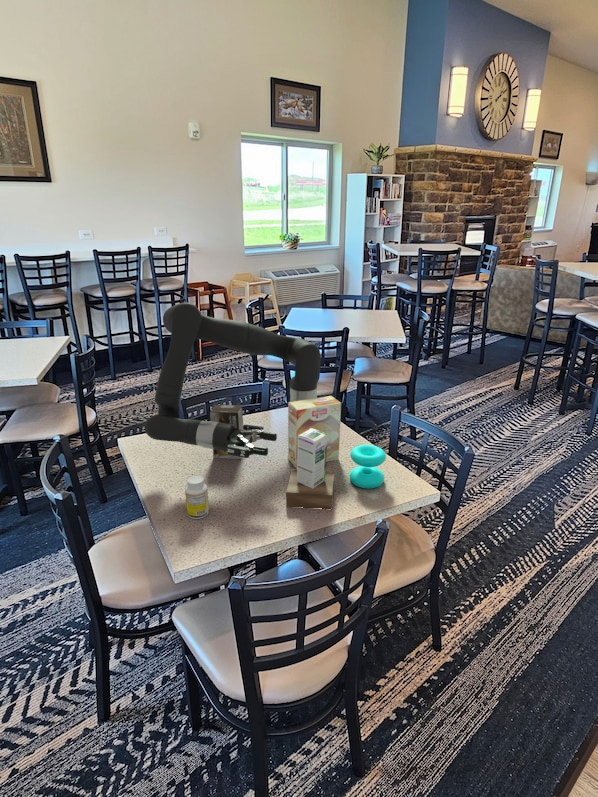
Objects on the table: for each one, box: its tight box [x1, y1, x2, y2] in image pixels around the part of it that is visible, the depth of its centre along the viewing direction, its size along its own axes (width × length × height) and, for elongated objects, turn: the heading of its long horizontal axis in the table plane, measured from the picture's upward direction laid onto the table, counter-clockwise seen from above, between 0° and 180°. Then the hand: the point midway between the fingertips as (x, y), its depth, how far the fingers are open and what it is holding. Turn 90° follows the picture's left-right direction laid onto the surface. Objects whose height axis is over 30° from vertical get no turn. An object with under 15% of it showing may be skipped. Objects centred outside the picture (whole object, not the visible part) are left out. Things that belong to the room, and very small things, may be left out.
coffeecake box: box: [287, 395, 342, 469], centre depth 153 cm, size 15×7×20 cm, turn 114°
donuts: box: [349, 444, 387, 490], centre depth 142 cm, size 10×10×10 cm
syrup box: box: [296, 428, 328, 489], centre depth 132 cm, size 6×6×14 cm
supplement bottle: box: [184, 475, 210, 520], centre depth 127 cm, size 6×6×10 cm
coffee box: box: [209, 404, 244, 460], centre depth 156 cm, size 9×6×16 cm
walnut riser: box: [285, 469, 335, 510], centre depth 136 cm, size 12×12×5 cm
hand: (272, 444), depth 135 cm, fingers open, 8 cm apart
